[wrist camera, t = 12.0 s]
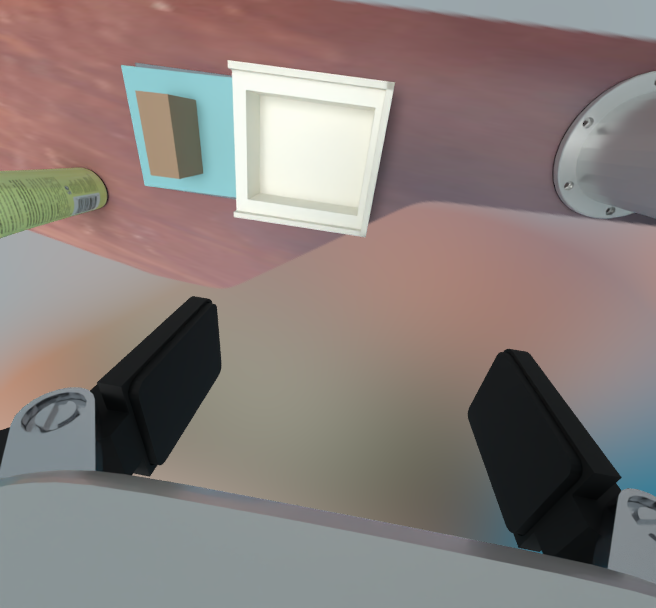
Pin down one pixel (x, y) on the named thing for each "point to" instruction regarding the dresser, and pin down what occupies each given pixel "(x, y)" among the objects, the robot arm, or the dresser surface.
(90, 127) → the dresser surface
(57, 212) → the tube
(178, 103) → the lid
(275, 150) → the box
